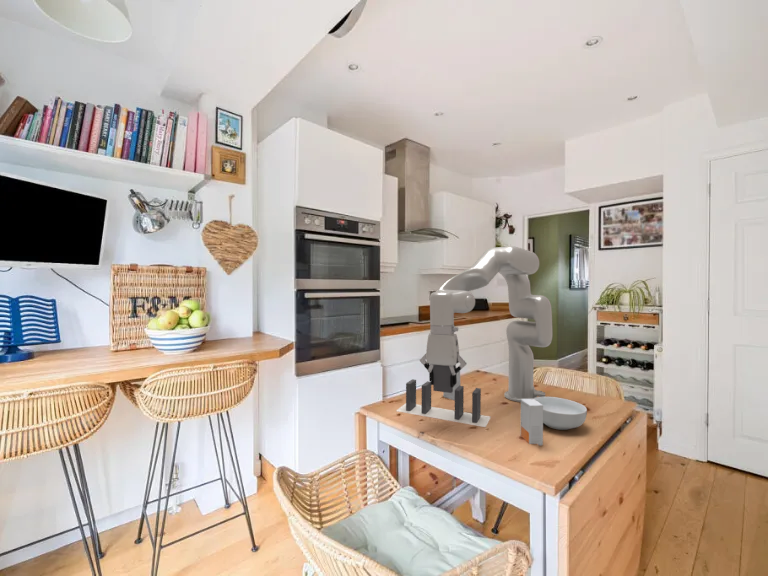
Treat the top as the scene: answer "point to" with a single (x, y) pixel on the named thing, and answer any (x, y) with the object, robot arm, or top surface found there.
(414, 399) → the domino
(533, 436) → the skincare box
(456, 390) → the domino
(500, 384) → the top surface
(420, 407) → the board
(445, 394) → the skincare box
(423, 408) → the domino
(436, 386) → the domino
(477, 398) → the domino
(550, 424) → the cereal bowl
